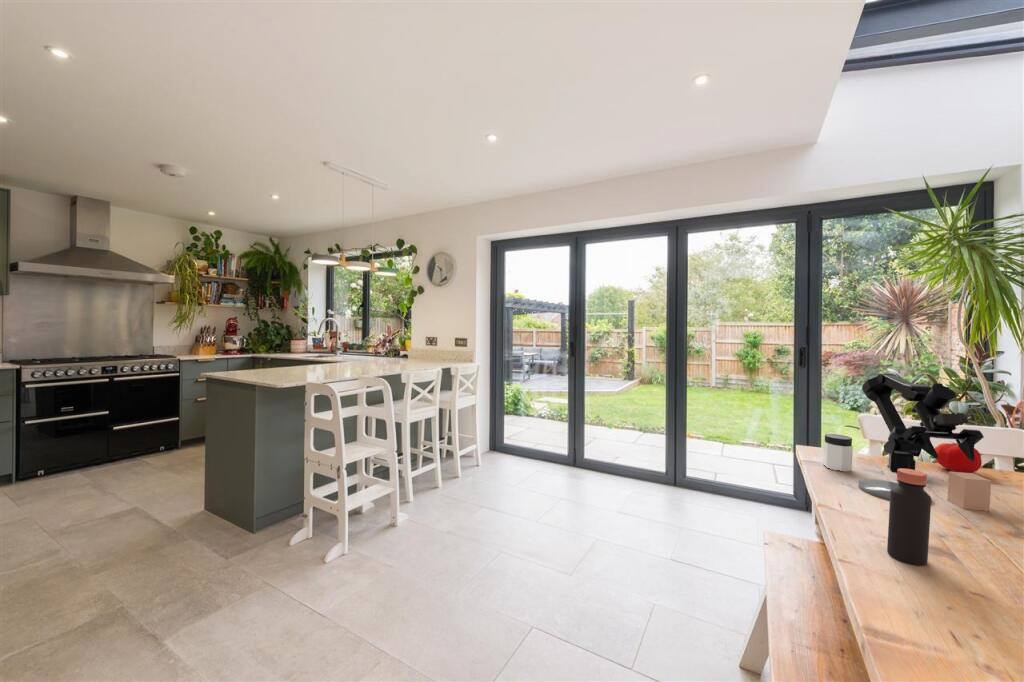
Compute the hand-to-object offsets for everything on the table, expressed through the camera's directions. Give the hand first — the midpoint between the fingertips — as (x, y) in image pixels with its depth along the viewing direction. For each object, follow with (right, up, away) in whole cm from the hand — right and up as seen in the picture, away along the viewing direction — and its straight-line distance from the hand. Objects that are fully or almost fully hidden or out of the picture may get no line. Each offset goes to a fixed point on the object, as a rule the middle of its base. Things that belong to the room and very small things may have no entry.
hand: (954, 459), depth 131 cm
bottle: (-48, -13, -35) cm, 60 cm away
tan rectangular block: (-2, -12, -5) cm, 14 cm away
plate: (-16, -12, +4) cm, 20 cm away
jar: (-16, -11, +27) cm, 33 cm away
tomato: (+28, -12, +26) cm, 40 cm away
